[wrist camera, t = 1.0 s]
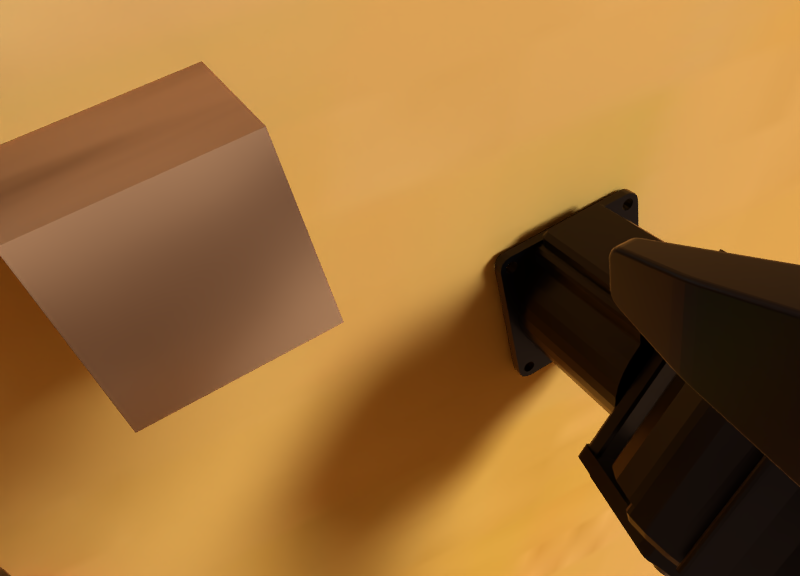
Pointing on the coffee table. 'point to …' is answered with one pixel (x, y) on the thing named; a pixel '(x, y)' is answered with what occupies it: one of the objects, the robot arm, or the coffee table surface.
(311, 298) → the walnut cube
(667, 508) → the robot arm
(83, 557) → the coffee table surface
